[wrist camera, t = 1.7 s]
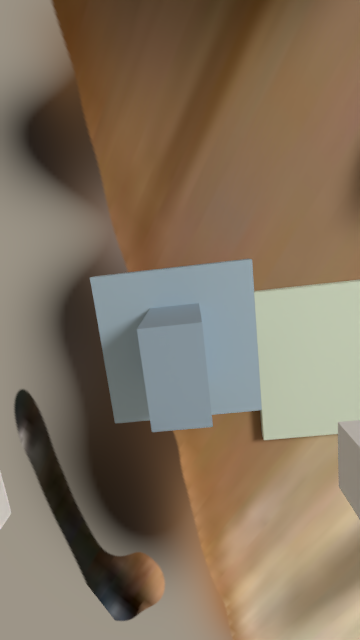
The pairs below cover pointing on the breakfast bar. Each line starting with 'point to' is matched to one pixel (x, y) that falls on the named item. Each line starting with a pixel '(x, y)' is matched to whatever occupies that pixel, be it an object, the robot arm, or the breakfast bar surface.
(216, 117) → the breakfast bar surface
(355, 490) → the robot arm
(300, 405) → the mat
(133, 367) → the lid
